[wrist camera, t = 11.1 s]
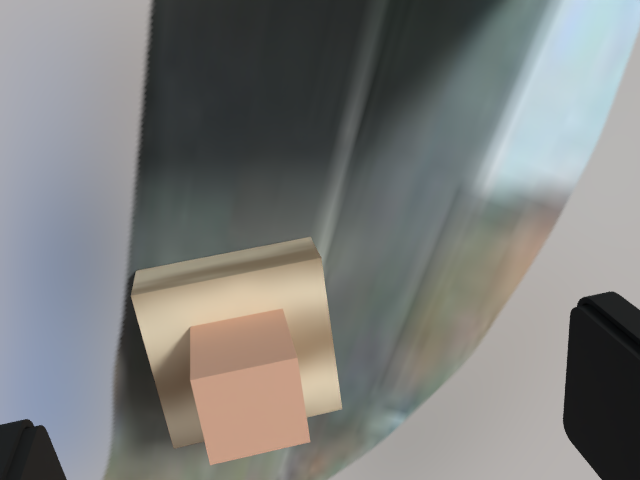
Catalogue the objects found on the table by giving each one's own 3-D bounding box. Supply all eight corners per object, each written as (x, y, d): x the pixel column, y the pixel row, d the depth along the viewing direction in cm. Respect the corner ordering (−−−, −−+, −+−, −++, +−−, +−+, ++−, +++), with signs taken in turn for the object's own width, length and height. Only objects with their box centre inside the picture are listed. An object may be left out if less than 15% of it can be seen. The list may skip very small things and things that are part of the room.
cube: (190, 326, 35) (190, 380, 30) (282, 308, 36) (297, 357, 31) (207, 402, 37) (210, 465, 32) (294, 384, 38) (310, 442, 33)
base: (135, 270, 37) (130, 295, 34) (310, 236, 39) (321, 257, 35) (175, 414, 41) (173, 448, 38) (330, 378, 43) (342, 408, 40)
